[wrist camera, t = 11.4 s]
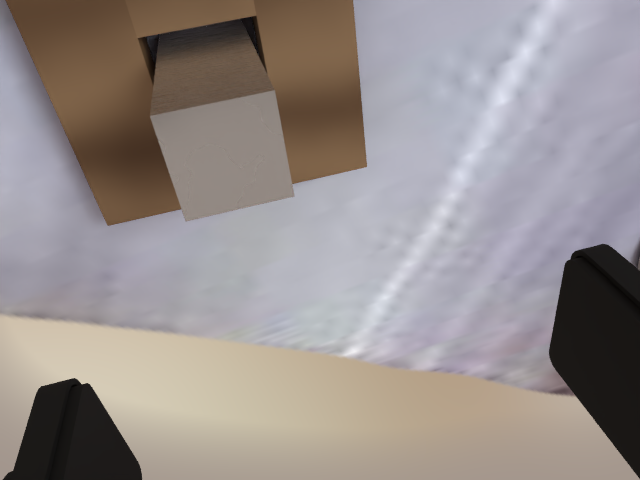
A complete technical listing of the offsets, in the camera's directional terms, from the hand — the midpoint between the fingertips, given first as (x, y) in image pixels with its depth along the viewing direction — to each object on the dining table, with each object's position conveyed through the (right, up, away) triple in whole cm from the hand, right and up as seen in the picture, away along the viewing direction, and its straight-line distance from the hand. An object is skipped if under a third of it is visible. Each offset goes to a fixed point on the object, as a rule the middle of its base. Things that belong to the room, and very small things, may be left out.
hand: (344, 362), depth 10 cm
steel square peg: (-6, +11, +16) cm, 21 cm away
